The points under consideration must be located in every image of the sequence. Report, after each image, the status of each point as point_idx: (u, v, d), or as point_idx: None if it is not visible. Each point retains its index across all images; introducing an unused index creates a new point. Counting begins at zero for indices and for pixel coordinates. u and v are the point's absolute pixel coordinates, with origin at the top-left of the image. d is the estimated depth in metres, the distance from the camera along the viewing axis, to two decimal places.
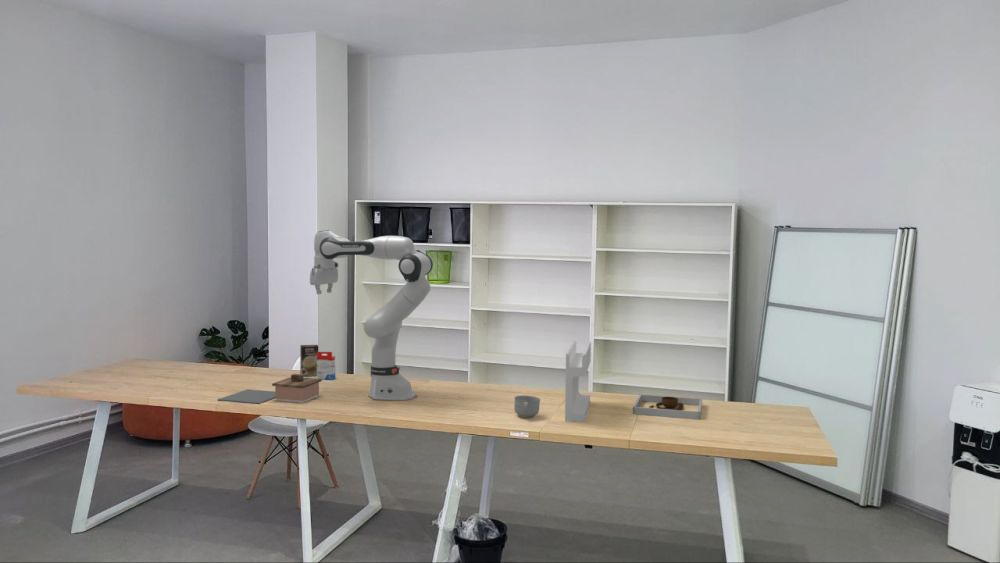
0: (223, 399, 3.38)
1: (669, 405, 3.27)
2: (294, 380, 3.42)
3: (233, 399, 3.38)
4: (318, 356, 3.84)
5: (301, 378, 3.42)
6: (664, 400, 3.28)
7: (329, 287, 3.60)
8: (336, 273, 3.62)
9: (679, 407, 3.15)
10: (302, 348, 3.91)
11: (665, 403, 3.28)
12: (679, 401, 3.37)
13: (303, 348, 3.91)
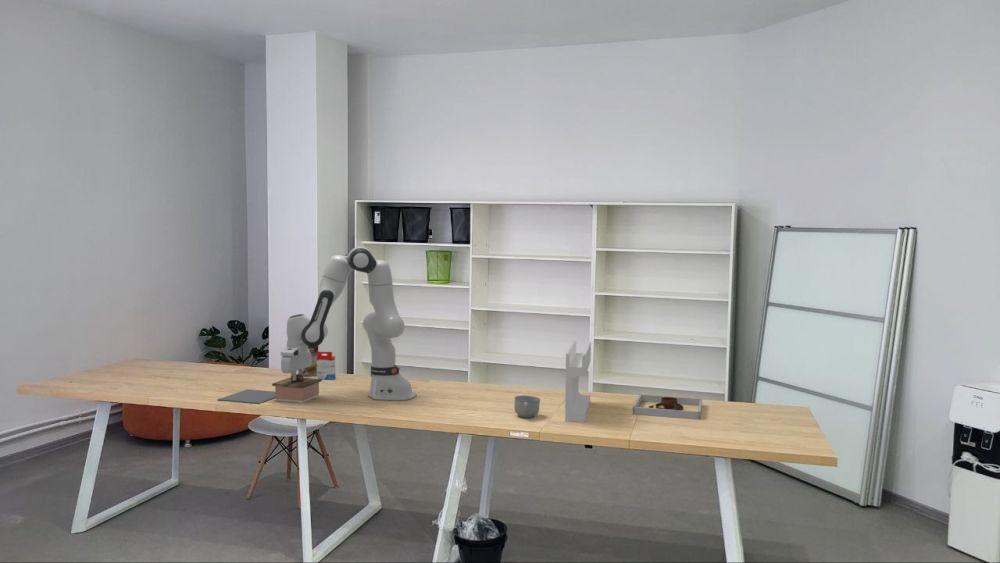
0: (223, 399, 3.38)
1: (668, 405, 3.26)
2: (294, 380, 3.42)
3: (233, 399, 3.38)
4: (318, 356, 3.84)
5: (301, 378, 3.42)
6: (663, 400, 3.27)
7: None
8: None
9: (676, 408, 3.14)
10: None
11: (664, 403, 3.27)
12: (679, 401, 3.37)
13: None
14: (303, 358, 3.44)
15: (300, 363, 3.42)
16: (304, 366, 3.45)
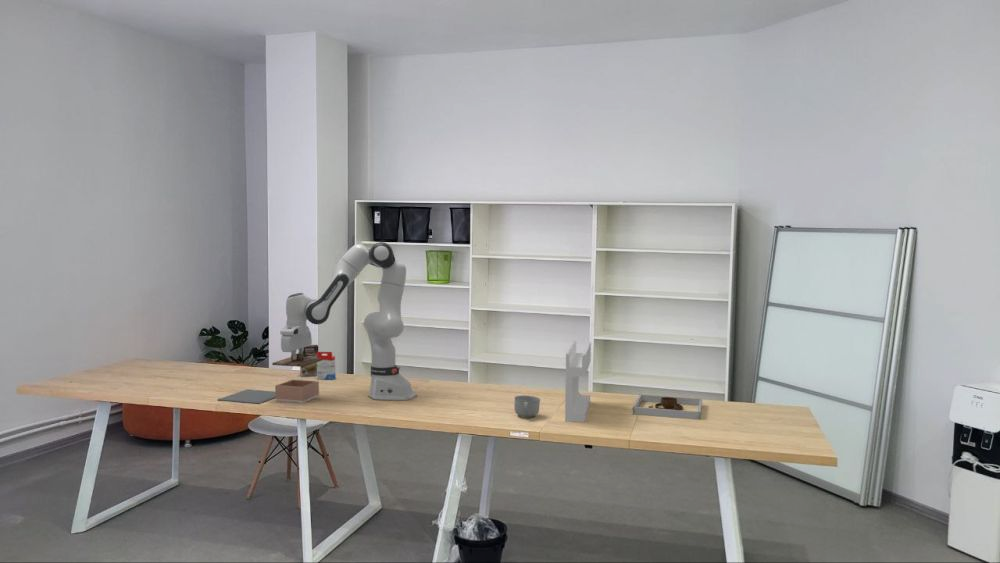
0: (223, 399, 3.38)
1: (668, 406, 3.26)
2: None
3: (233, 399, 3.38)
4: (318, 356, 3.84)
5: (301, 357, 3.41)
6: (663, 400, 3.27)
7: None
8: None
9: (676, 408, 3.14)
10: None
11: (664, 403, 3.27)
12: (679, 401, 3.37)
13: None
14: (303, 337, 3.44)
15: (300, 342, 3.41)
16: (304, 345, 3.44)
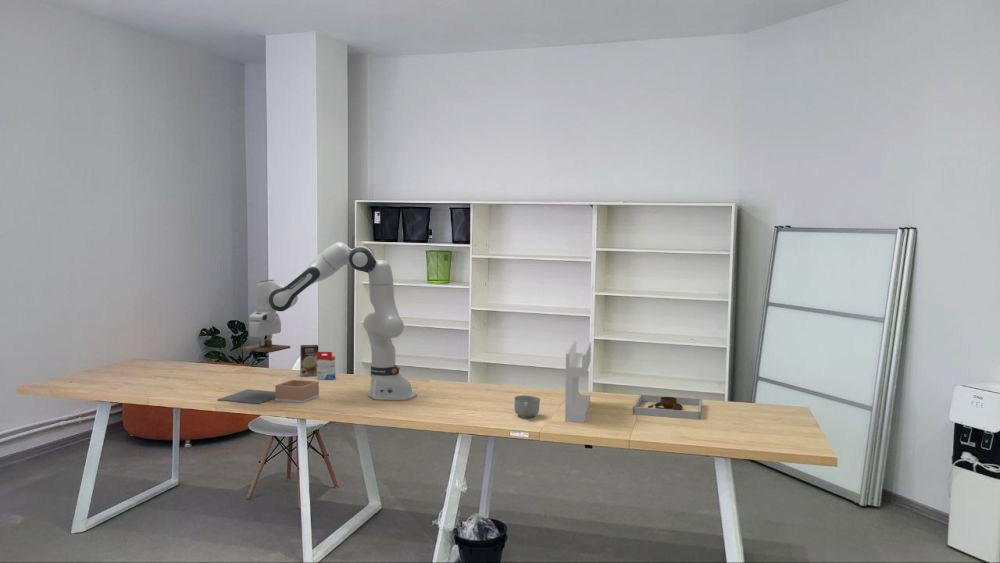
0: (223, 399, 3.38)
1: (667, 405, 3.26)
2: None
3: (233, 399, 3.38)
4: (318, 356, 3.84)
5: (269, 343, 3.42)
6: (662, 400, 3.28)
7: None
8: None
9: (675, 407, 3.14)
10: (302, 348, 3.91)
11: (663, 403, 3.27)
12: (679, 401, 3.37)
13: (303, 348, 3.91)
14: (272, 324, 3.45)
15: (269, 329, 3.42)
16: (273, 332, 3.45)
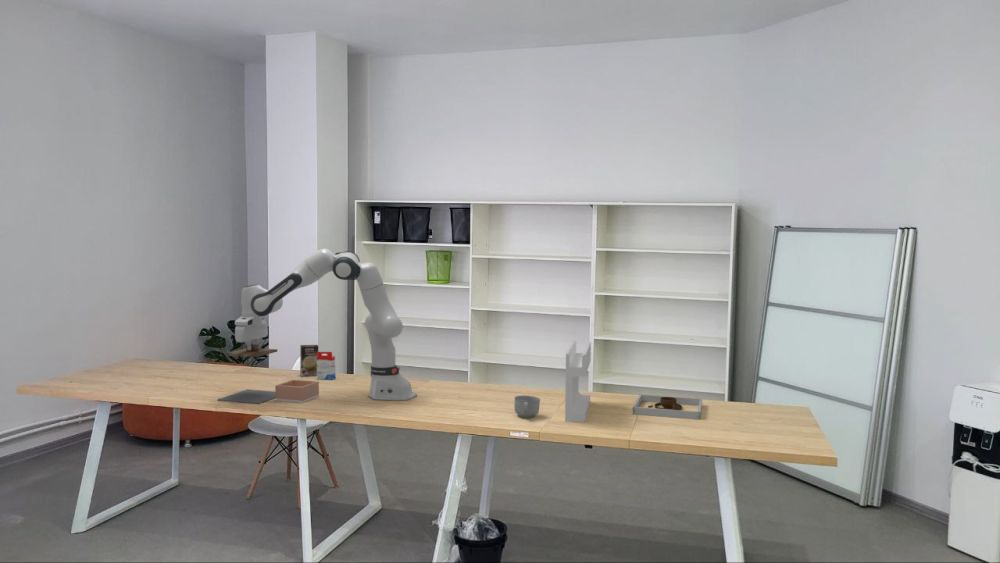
0: (223, 399, 3.38)
1: (667, 405, 3.26)
2: (249, 350, 3.43)
3: (233, 399, 3.38)
4: (318, 356, 3.84)
5: (256, 348, 3.43)
6: (662, 400, 3.28)
7: None
8: None
9: (674, 407, 3.14)
10: (302, 348, 3.91)
11: (663, 403, 3.27)
12: (679, 401, 3.37)
13: (303, 348, 3.91)
14: (258, 328, 3.46)
15: (255, 333, 3.43)
16: (259, 336, 3.46)
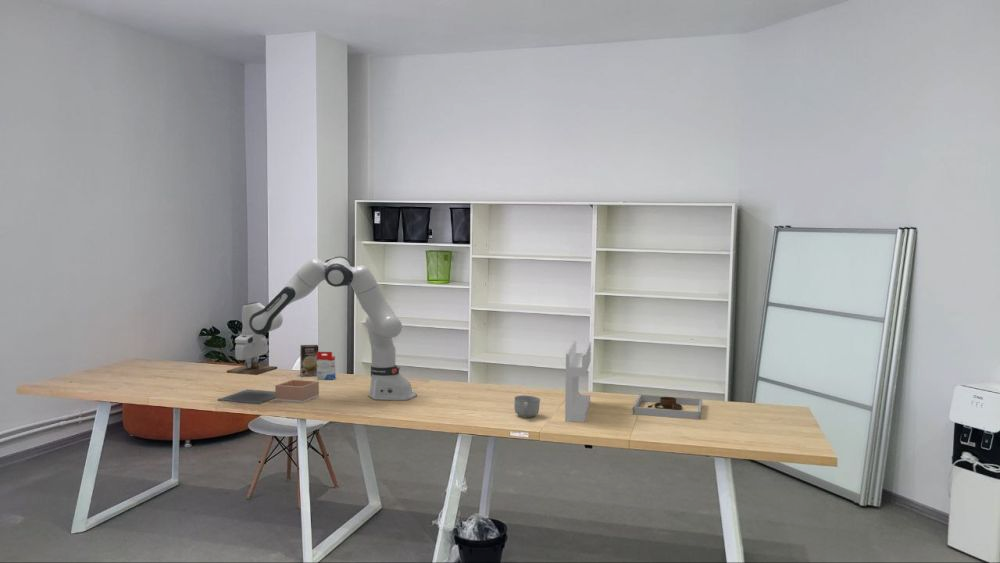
0: (223, 399, 3.38)
1: (667, 405, 3.27)
2: None
3: (233, 399, 3.38)
4: (318, 356, 3.84)
5: (256, 365, 3.43)
6: (662, 400, 3.28)
7: None
8: None
9: (673, 407, 3.14)
10: (302, 348, 3.91)
11: (663, 403, 3.27)
12: (679, 401, 3.37)
13: (303, 348, 3.91)
14: (258, 346, 3.46)
15: (255, 351, 3.44)
16: (259, 354, 3.47)
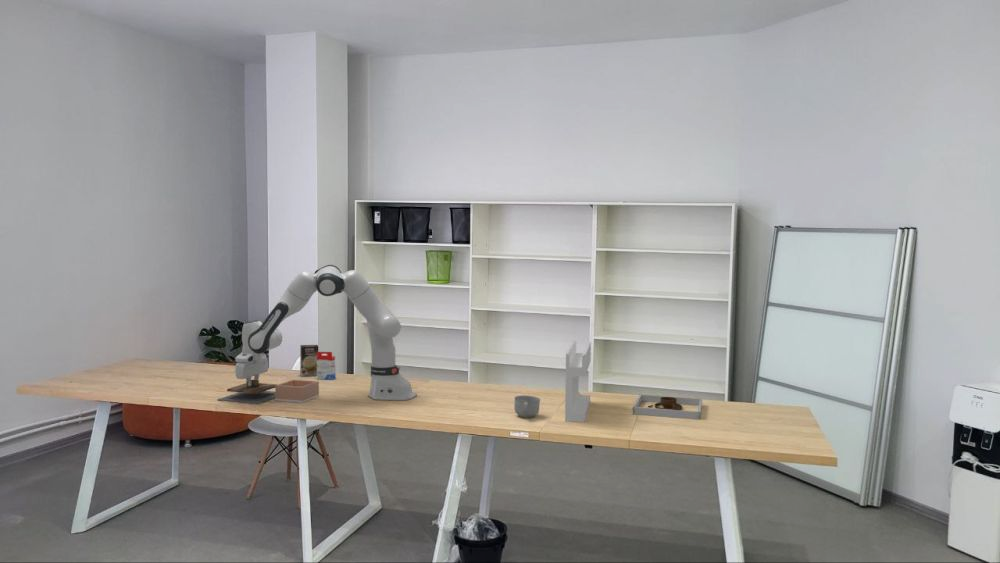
0: (223, 399, 3.38)
1: (667, 405, 3.27)
2: (249, 386, 3.44)
3: (233, 399, 3.38)
4: (318, 356, 3.84)
5: (256, 384, 3.44)
6: (662, 400, 3.28)
7: None
8: None
9: (674, 407, 3.14)
10: (302, 348, 3.91)
11: (663, 403, 3.27)
12: (679, 401, 3.37)
13: (303, 348, 3.91)
14: (259, 364, 3.47)
15: (256, 369, 3.44)
16: (260, 372, 3.47)
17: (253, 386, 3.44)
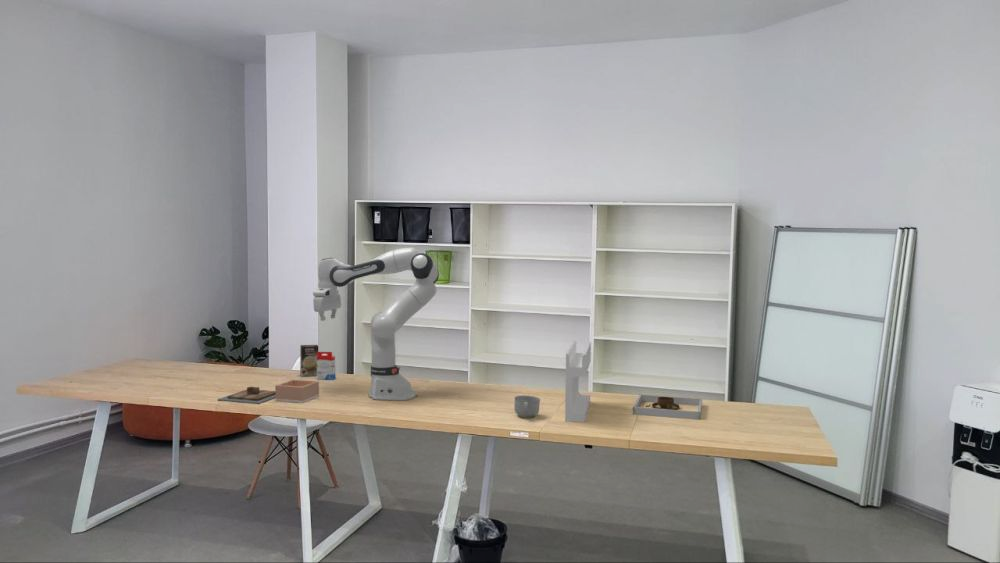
0: (223, 399, 3.38)
1: (664, 405, 3.27)
2: (250, 393, 3.45)
3: (233, 399, 3.38)
4: (318, 356, 3.84)
5: (257, 391, 3.44)
6: (659, 400, 3.29)
7: None
8: None
9: (668, 407, 3.15)
10: (302, 348, 3.91)
11: (660, 403, 3.28)
12: (679, 401, 3.37)
13: (303, 348, 3.91)
14: (333, 299, 3.64)
15: (331, 304, 3.61)
16: (334, 307, 3.64)
17: (253, 393, 3.44)
